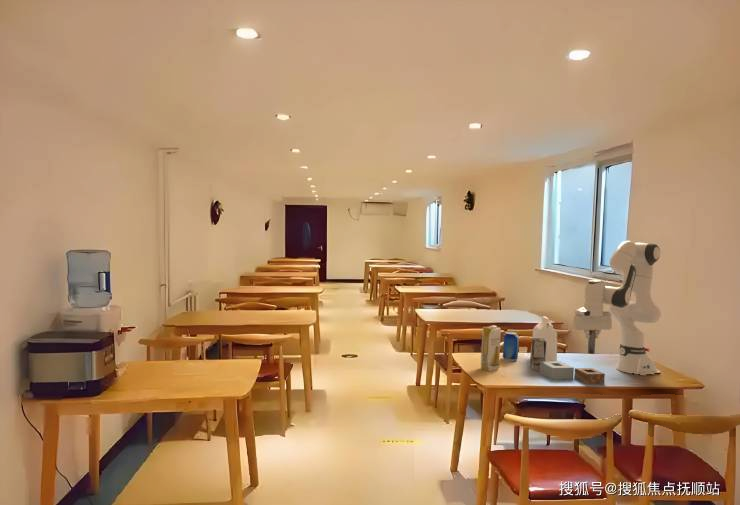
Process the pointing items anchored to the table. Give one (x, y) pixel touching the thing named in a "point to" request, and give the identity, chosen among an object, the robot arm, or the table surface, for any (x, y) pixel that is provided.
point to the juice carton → (490, 348)
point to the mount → (589, 375)
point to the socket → (556, 370)
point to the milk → (547, 338)
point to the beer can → (510, 346)
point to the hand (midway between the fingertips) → (591, 338)
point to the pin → (591, 341)
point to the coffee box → (537, 352)
